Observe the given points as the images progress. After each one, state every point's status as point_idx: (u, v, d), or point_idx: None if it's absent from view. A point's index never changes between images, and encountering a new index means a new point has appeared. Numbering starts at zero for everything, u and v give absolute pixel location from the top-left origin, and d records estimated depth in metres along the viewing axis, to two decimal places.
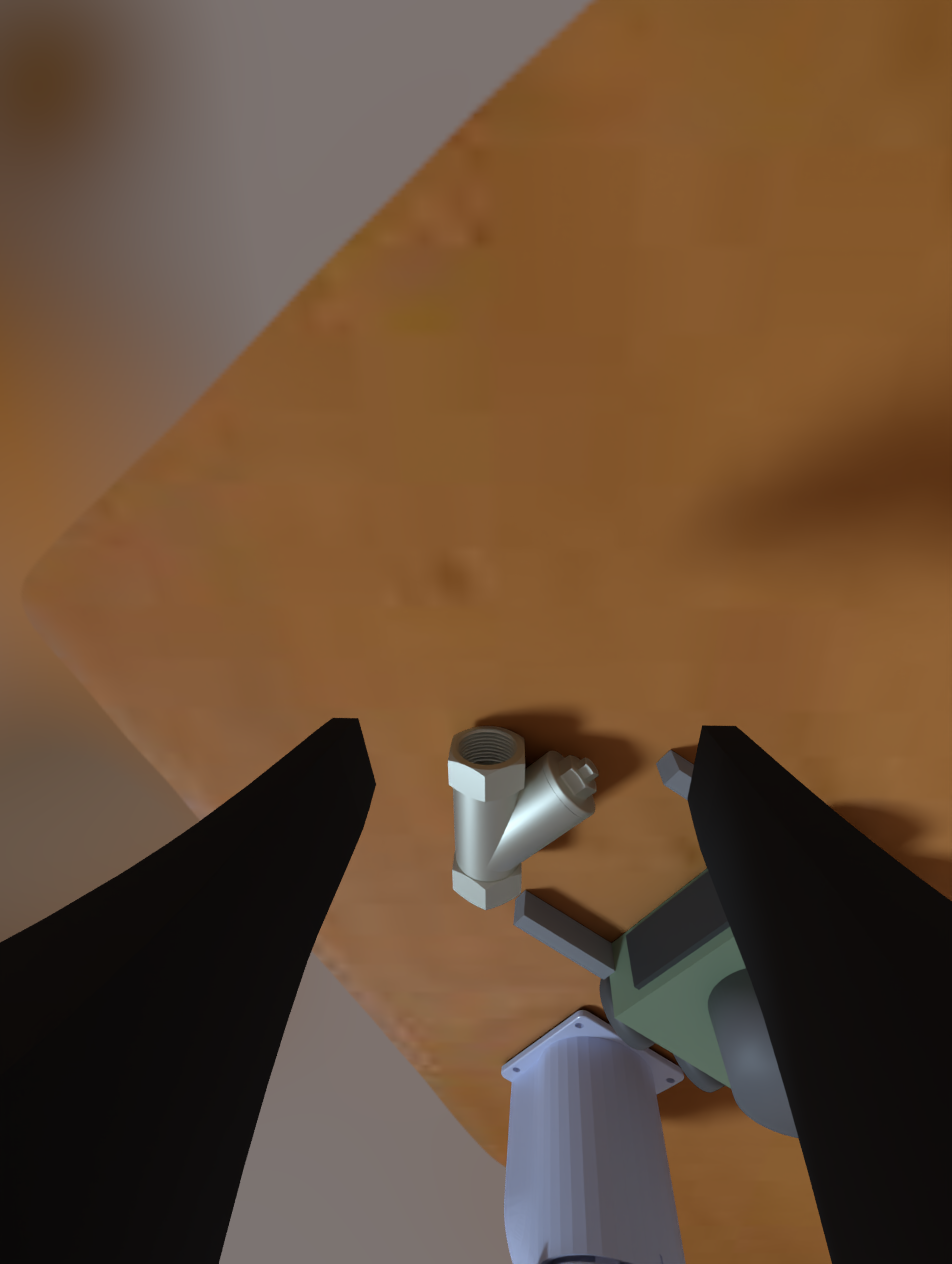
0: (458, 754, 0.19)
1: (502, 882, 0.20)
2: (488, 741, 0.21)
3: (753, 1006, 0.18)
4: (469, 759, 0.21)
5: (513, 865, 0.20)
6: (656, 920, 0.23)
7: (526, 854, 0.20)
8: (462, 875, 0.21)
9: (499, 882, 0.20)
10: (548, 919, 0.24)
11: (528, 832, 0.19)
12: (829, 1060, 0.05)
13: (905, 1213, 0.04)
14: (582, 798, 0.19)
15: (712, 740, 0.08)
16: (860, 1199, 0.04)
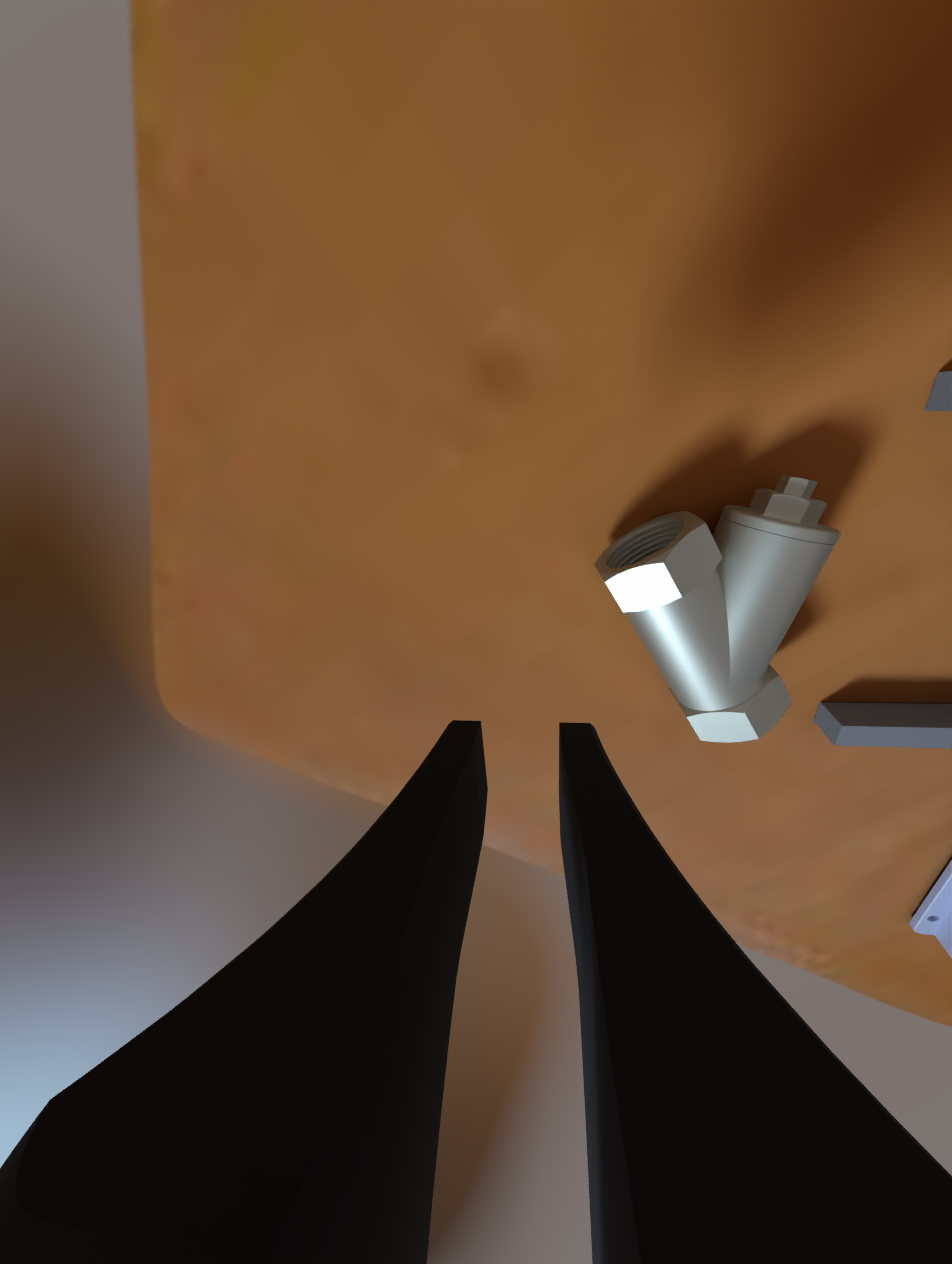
0: (613, 568, 0.14)
1: (761, 695, 0.15)
2: (640, 549, 0.16)
3: None
4: None
5: (763, 666, 0.15)
6: None
7: (774, 640, 0.14)
8: (703, 715, 0.16)
9: (757, 697, 0.15)
10: (877, 716, 0.17)
11: (761, 607, 0.13)
12: (588, 1028, 0.05)
13: (598, 1159, 0.04)
14: (812, 524, 0.13)
15: (560, 736, 0.08)
16: (594, 1153, 0.05)
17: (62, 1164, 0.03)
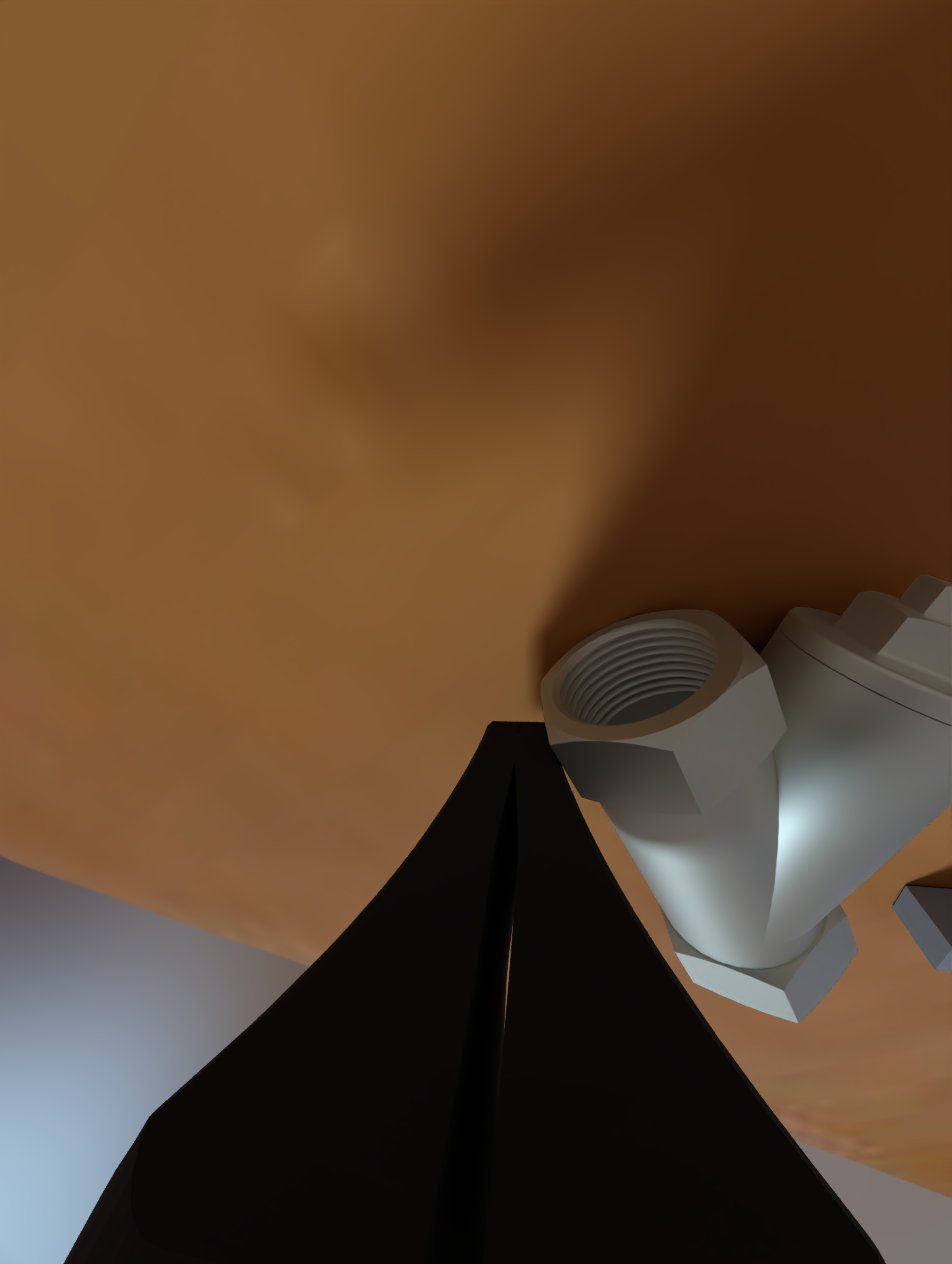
0: (568, 718, 0.07)
1: (813, 954, 0.08)
2: (624, 659, 0.09)
3: None
4: (600, 714, 0.09)
5: (828, 913, 0.08)
6: None
7: (860, 883, 0.07)
8: (705, 961, 0.09)
9: (806, 957, 0.08)
10: None
11: (852, 837, 0.07)
12: None
13: None
14: None
15: (516, 735, 0.08)
16: None
17: (176, 1188, 0.03)
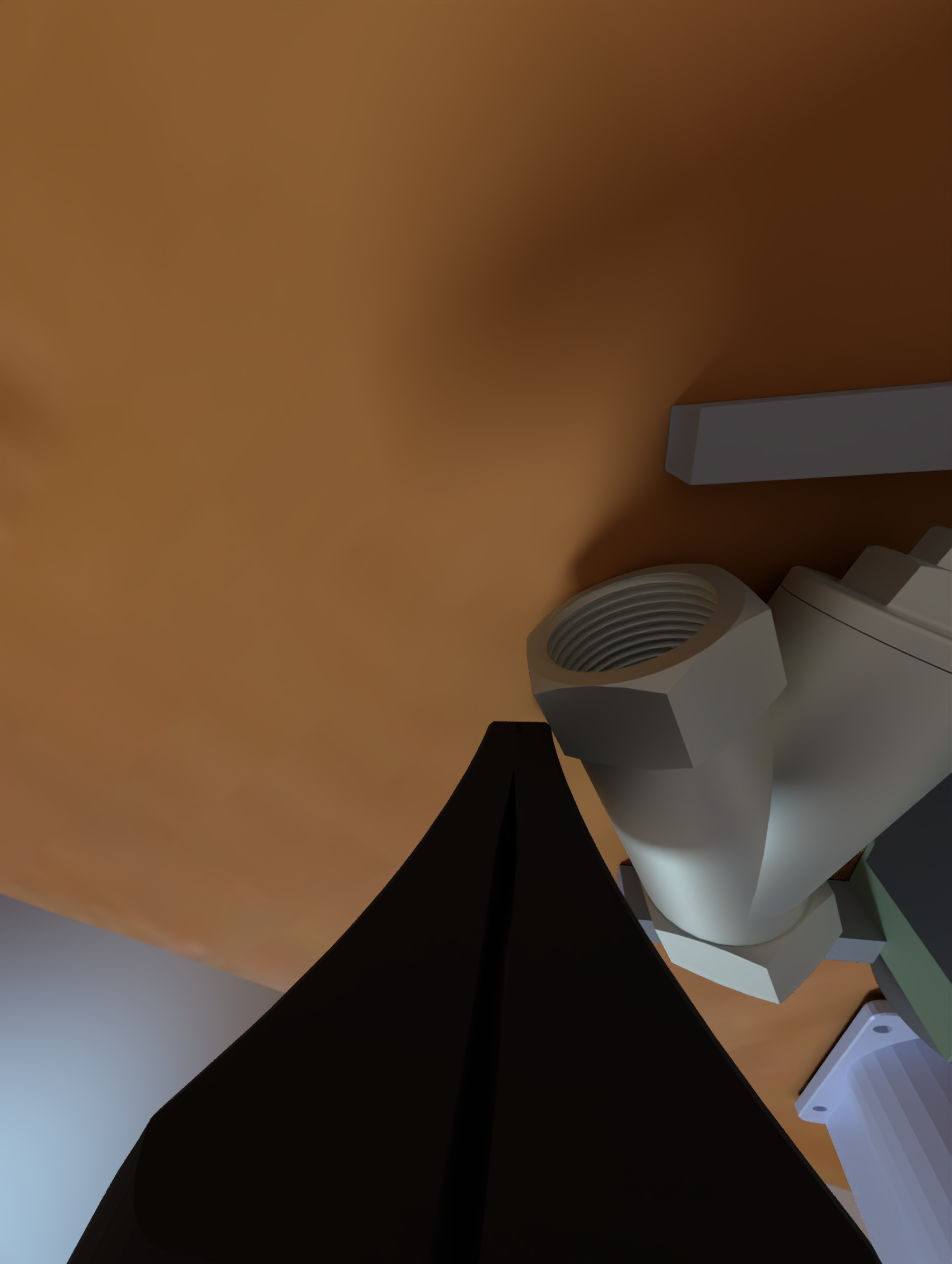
0: (555, 667, 0.07)
1: (798, 932, 0.08)
2: (615, 618, 0.09)
3: None
4: None
5: (816, 888, 0.07)
6: (916, 809, 0.09)
7: (852, 855, 0.07)
8: (685, 938, 0.09)
9: (791, 934, 0.08)
10: None
11: (849, 802, 0.06)
12: None
13: None
14: None
15: (514, 735, 0.08)
16: None
17: (179, 1189, 0.03)
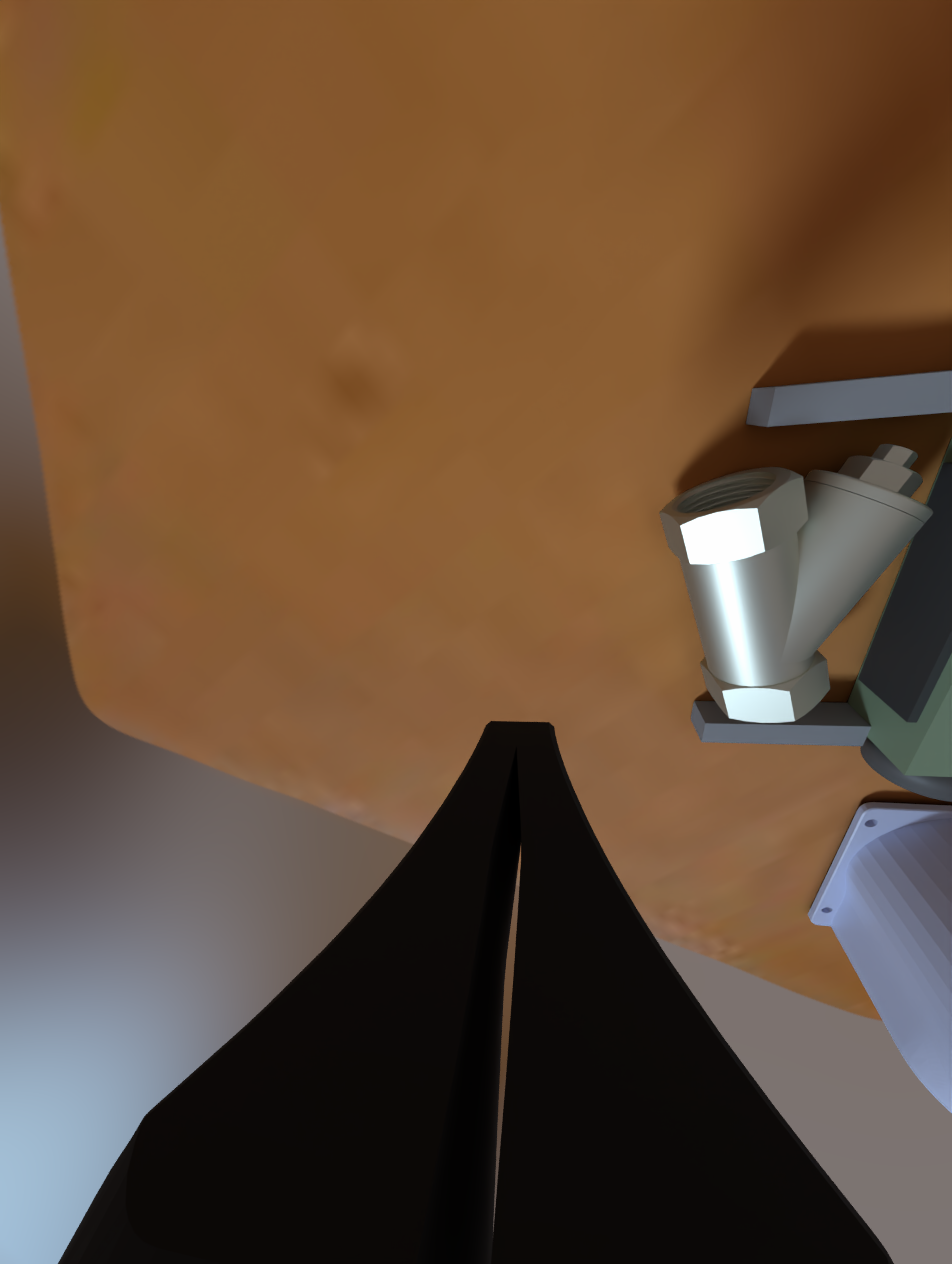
0: (690, 513, 0.13)
1: (806, 676, 0.14)
2: (707, 506, 0.15)
3: None
4: None
5: (817, 645, 0.14)
6: (887, 630, 0.15)
7: (837, 618, 0.13)
8: (741, 690, 0.15)
9: (802, 677, 0.14)
10: None
11: (837, 579, 0.13)
12: None
13: None
14: None
15: (518, 735, 0.08)
16: None
17: (171, 1187, 0.03)
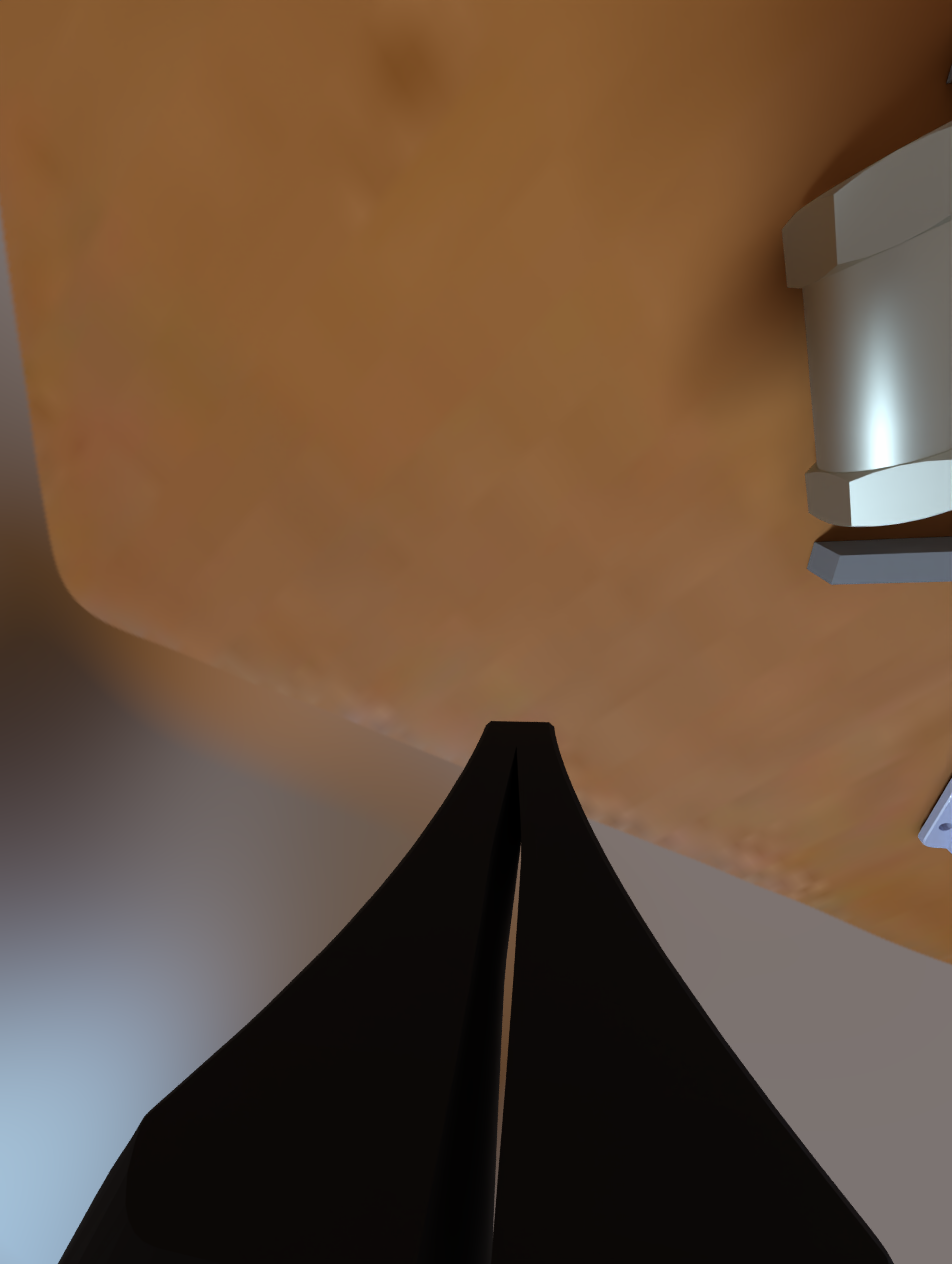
0: None
1: None
2: None
3: None
4: None
5: None
6: None
7: None
8: (878, 475, 0.11)
9: None
10: (883, 547, 0.14)
11: None
12: None
13: None
14: None
15: (518, 735, 0.08)
16: None
17: (170, 1187, 0.03)
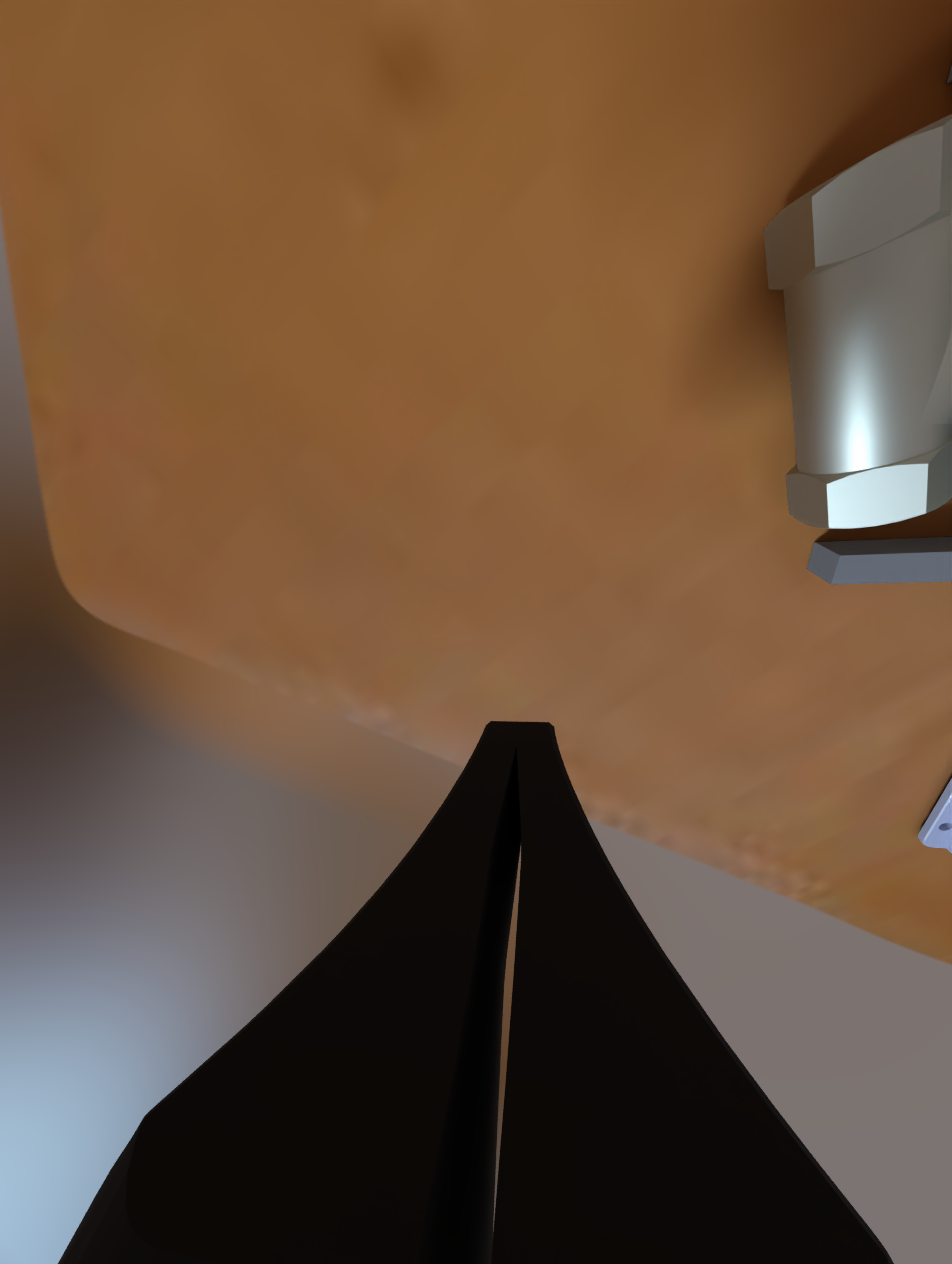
0: None
1: (947, 449, 0.11)
2: None
3: None
4: None
5: None
6: None
7: None
8: (855, 478, 0.12)
9: (942, 450, 0.11)
10: (883, 547, 0.14)
11: None
12: None
13: None
14: None
15: (518, 735, 0.08)
16: None
17: (170, 1187, 0.03)
